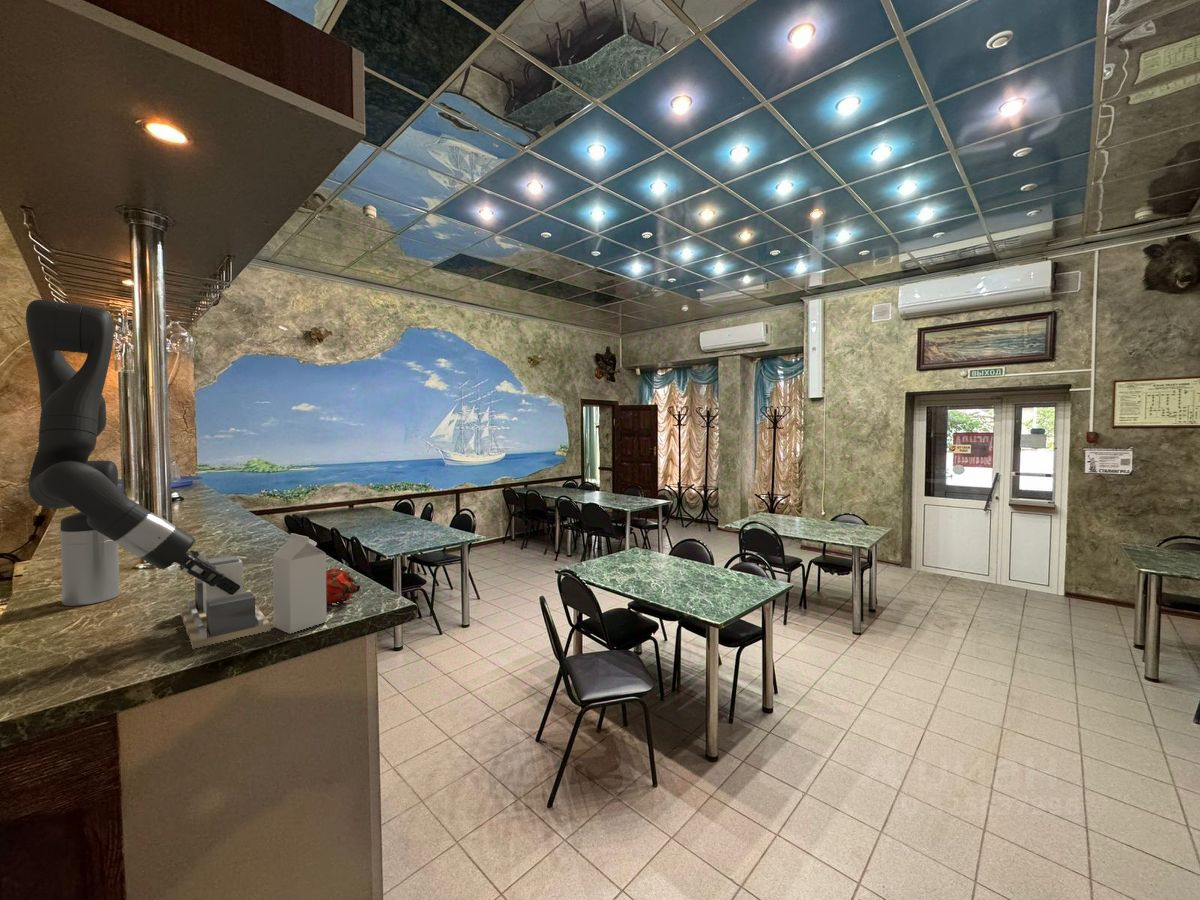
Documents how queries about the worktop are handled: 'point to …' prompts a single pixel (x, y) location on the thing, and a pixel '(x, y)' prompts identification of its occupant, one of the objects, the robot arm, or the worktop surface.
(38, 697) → the worktop surface
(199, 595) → the rail plate
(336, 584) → the dragon fruit
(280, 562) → the milk carton
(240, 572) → the block
